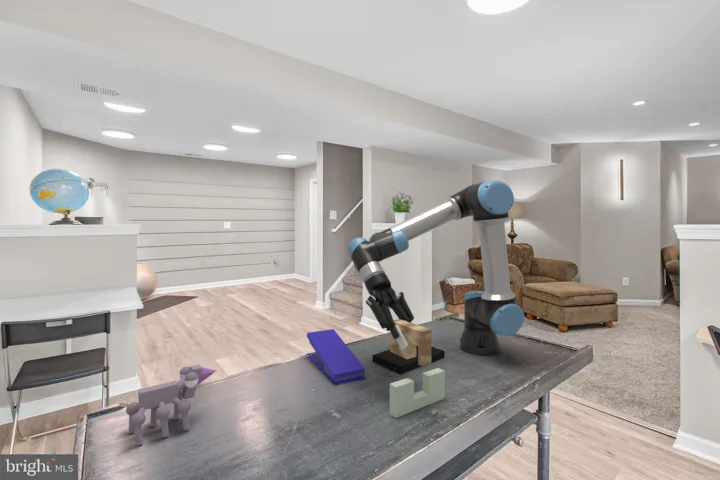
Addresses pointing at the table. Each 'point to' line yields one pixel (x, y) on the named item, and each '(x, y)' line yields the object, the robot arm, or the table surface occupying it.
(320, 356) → the blue foot pedal
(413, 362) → the external hard drive
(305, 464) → the table surface
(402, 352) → the tan wooden block
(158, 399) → the grey toy animal figure
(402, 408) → the green u-shaped block
